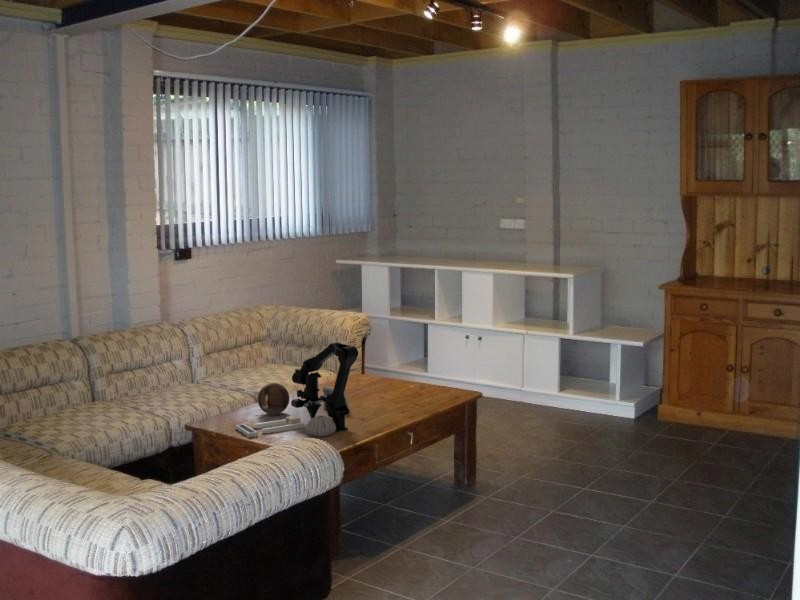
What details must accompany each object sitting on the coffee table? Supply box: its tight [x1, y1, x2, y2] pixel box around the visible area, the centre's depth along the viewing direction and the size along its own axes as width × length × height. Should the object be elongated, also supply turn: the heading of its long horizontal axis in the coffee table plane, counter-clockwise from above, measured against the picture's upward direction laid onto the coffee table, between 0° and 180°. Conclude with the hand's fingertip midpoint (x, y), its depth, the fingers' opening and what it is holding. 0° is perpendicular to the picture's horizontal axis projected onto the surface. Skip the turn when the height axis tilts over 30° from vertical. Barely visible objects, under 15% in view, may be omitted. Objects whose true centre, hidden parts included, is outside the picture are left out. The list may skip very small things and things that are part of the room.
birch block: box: [285, 415, 301, 425], centre depth 410 cm, size 5×5×4 cm
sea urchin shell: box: [305, 415, 337, 438], centre depth 397 cm, size 13×14×8 cm
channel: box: [252, 418, 305, 434], centre depth 407 cm, size 11×20×2 cm, turn 121°
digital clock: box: [322, 385, 350, 410], centre depth 439 cm, size 16×9×11 cm, turn 29°
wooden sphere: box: [257, 382, 290, 416], centre depth 430 cm, size 15×15×15 cm
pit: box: [235, 423, 259, 438], centre depth 399 cm, size 16×4×2 cm, turn 31°
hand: (312, 419), depth 415 cm, fingers closed
